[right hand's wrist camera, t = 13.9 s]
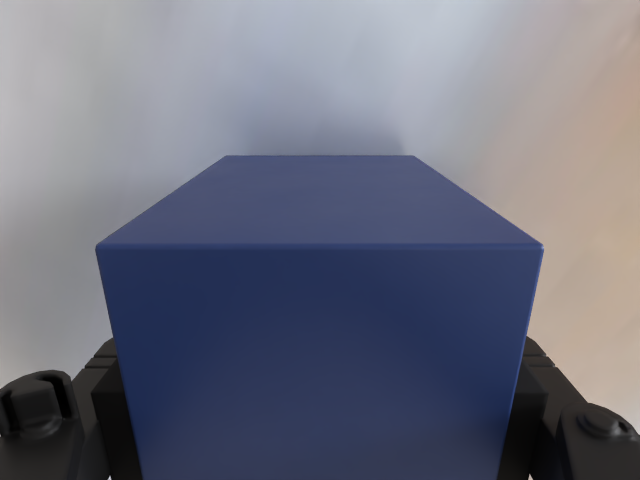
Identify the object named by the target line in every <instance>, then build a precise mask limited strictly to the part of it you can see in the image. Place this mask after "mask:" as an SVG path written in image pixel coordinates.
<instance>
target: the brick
mask: <svg viewBox="0 0 640 480" xmlns="http://www.w3.org/2000/svg"><path fill="white" fill-rule="evenodd" d="M95 251H96V256H97V260H98V265H99V270H100V275H101V280H102V285H103V289H104V294H105V299H106V304H107V309H108V314H109V319H110V323H111V328H112V333H113V338H114V343H115V348H116V352H117V357H118V362H119V367H120V372H121V377H122V382H123V386H124V391H125V396H126V401H127V406H128V411H129V415H130V420H131V425H132V430H133V435H134V440H135V445H136V449H137V454H138V459H139V464H140V469H141V474H142V478H143V480H497V476H498V471H499V466H500V461H501V457H502V452H503V447H504V442H505V437H506V432H507V427H508V423H509V418H510V413H511V408H512V403H513V398H514V393H515V389H516V384H517V379H518V374H519V369H520V364H521V359H522V354H523V350H524V345H525V340H526V335H527V330H528V325H529V320H530V316H531V311H532V306H533V301H534V296H535V291H536V286H537V282H538V277H539V272H540V267H541V262H542V257H543V252H544V247H543V244H541V243H540V242H538V241H537V240H535V239H534V238H532V237H531V236H530V235H528V234H527V233H525V232H524V231H522V230H521V229H519V228H518V227H517V226H515V225H514V224H512V223H511V222H509V221H508V220H506V219H505V218H503V217H502V216H501V215H499V214H498V213H496V212H495V211H493V210H492V209H490V208H489V207H488V206H486V205H485V204H483V203H482V202H480V201H479V200H477V199H476V198H474V197H473V196H472V195H470V194H469V193H467V192H466V191H464V190H463V189H461V188H460V187H458V186H457V185H456V184H454V183H453V182H451V181H450V180H448V179H447V178H445V177H444V176H443V175H441V174H440V173H438V172H437V171H435V170H434V169H432V168H431V167H429V166H428V165H427V164H425V163H424V162H422V161H421V160H419V159H418V158H416V157H415V156H225V157H223V158H222V159H220V160H219V161H217V162H216V163H215V164H213V165H212V166H210V167H209V168H207V169H206V170H204V171H203V172H201V173H200V174H199V175H197V176H196V177H194V178H193V179H191V180H190V181H188V182H187V183H185V184H184V185H183V186H181V187H180V188H178V189H177V190H175V191H174V192H172V193H171V194H169V195H168V196H167V197H165V198H164V199H162V200H161V201H159V202H158V203H156V204H155V205H153V206H152V207H151V208H149V209H148V210H146V211H145V212H143V213H142V214H140V215H139V216H137V217H136V218H135V219H133V220H132V221H130V222H129V223H127V224H126V225H124V226H123V227H121V228H120V229H119V230H117V231H116V232H114V233H113V234H111V235H110V236H108V237H107V238H105V239H104V240H103V241H101V242H100V243H98V244H97V245H96V249H95Z"/></svg>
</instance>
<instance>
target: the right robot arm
mask: <svg viewBox="0 0 640 480" xmlns="http://www.w3.org/2000/svg"><path fill="white" fill-rule="evenodd" d="M0 435H1V437H0V480H108V478H109V476H111V480H143V478H142V474H141V469H140V464H139V459H138V454H137V449H136V445H135V440H134V435H133V430H132V425H131V420H130V415H129V411H128V406H127V401H126V396H125V391H124V386H123V382H122V377H121V372H120V367H119V362H118V357H117V352H116V348H115V343H114V338H111V339H110V340H108V341H107V342H105V343H104V344H103V345H102V347H101V348H100V349H99V350H98V351H97V352H96V354H95V355H94V358H91V359H90V361H89V362H88V363H87V364H86V365H85V369H82V370H81V371H80V372H79V374H78V375H77V376H76V377H75V378H74V379H73V381H72V382H71V378H70V376H69V375H68V374H66V373H65V372H63V371H57V370H47V371H39V372H35V373H32V374H29V375H25V376H23V377H20V378H18V379H16V380H14V381H12V382H10V383H8V384H7V385H6V386H4V387H3V388H1V389H0ZM529 474H530V475H531V477H532V479H533V480H640V435H638V433H637V432H636V430H635V429H634V428H633V426H632V425H631V424H630V423H628V422H627V421H626V420H625V419H624V418H622V417H621V416H620V415H618V414H616V413H614V412H612V411H611V410H609V409H607V408H604V407H601V406H598V405H595V404H592V403H588V402H587V401H586V400H585V399H584V398H583V397H582V395H581V394H580V393H579V392H578V391H577V390H576V388H575V387H574V386H573V385H572V384H571V383H570V381H569V380H568V379H567V378H566V377H565V376H564V375H563V373H562V372H561V371H560V370H559V369H558V368H557V367H555V364H554V363H553V362H552V361H551V359H550V358H549V357H546V354H545V352H544V351H543V350H542V349H541V348H540V347H539V345H538V344H537V343H536V342H535V341H534V340H532V339H530V338H529V337H527V336H526V340H525V345H524V350H523V354H522V359H521V364H520V369H519V374H518V379H517V384H516V389H515V393H514V398H513V403H512V408H511V413H510V418H509V423H508V427H507V432H506V437H505V442H504V447H503V452H502V457H501V461H500V466H499V471H498V476H497V480H528V478H529Z"/></svg>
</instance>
